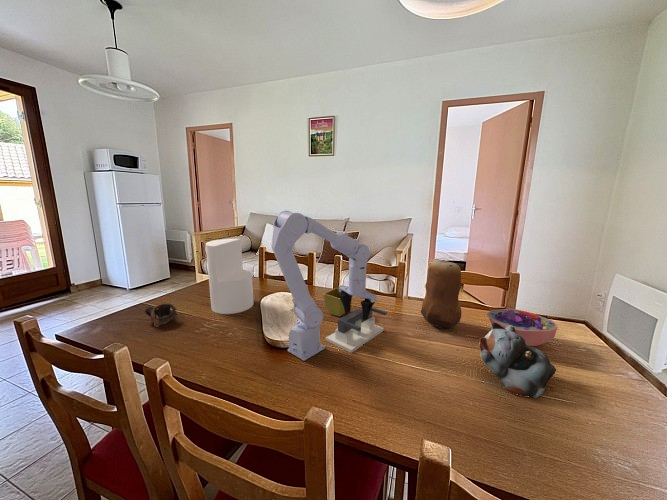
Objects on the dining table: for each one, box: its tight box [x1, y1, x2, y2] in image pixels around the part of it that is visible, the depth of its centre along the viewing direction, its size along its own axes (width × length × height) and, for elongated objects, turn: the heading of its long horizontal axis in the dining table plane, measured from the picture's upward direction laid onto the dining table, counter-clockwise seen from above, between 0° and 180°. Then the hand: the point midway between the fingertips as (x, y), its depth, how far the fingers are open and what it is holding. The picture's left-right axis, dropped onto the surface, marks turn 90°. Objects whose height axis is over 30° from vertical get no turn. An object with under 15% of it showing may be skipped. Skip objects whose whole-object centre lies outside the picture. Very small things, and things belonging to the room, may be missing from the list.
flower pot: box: [323, 287, 353, 318], centre depth 113 cm, size 9×9×9 cm
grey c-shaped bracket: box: [337, 306, 387, 333], centre depth 94 cm, size 16×8×4 cm, turn 138°
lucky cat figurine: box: [478, 323, 557, 399], centre depth 75 cm, size 17×14×16 cm
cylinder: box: [205, 238, 255, 315], centre depth 118 cm, size 17×17×28 cm
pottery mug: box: [144, 302, 179, 328], centre depth 105 cm, size 12×10×8 cm
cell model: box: [486, 308, 559, 347], centre depth 93 cm, size 17×20×11 cm
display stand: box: [325, 316, 385, 354], centre depth 97 cm, size 19×11×6 cm, turn 138°
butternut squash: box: [420, 259, 462, 329], centre depth 102 cm, size 14×13×25 cm
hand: (356, 315), depth 96 cm, fingers open, 7 cm apart
